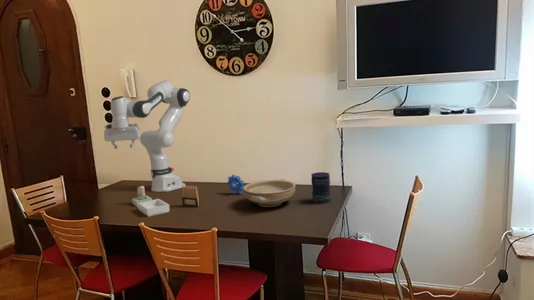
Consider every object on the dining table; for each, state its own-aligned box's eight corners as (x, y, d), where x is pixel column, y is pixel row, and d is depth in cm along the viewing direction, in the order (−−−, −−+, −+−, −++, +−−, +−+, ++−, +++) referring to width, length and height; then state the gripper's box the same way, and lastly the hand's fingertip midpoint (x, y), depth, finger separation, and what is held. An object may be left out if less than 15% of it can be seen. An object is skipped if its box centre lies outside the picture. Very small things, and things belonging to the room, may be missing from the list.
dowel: (144, 202, 248) (142, 185, 247) (146, 203, 245) (145, 186, 244) (138, 203, 246) (136, 187, 245) (140, 204, 243) (138, 188, 241)
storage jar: (333, 199, 229) (332, 172, 226) (327, 204, 220) (326, 176, 218) (315, 198, 233) (314, 171, 231) (310, 203, 224) (308, 176, 222)
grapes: (224, 195, 251) (223, 175, 249) (230, 192, 257) (228, 173, 255) (241, 196, 246) (240, 176, 244) (247, 193, 252) (245, 174, 250)
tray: (159, 205, 239) (158, 198, 238) (169, 211, 226) (169, 204, 225) (138, 210, 233) (137, 203, 232) (148, 216, 219) (147, 209, 219)
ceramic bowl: (261, 193, 251) (260, 176, 249) (306, 195, 239) (305, 178, 238) (231, 212, 218) (229, 193, 216) (281, 216, 206) (280, 196, 204)
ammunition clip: (200, 206, 232) (198, 185, 230) (198, 207, 231) (196, 186, 229) (184, 204, 237) (182, 184, 235) (182, 205, 235) (180, 185, 233)
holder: (147, 200, 252) (147, 195, 251) (152, 203, 245) (151, 198, 244) (132, 203, 247) (132, 198, 247) (137, 206, 240) (136, 201, 239)
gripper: (140, 122, 247) (142, 146, 249) (105, 125, 247) (108, 148, 249) (137, 124, 241) (140, 147, 243) (101, 126, 241) (104, 149, 243)
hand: (123, 148), depth 246 cm, fingers open, 8 cm apart
